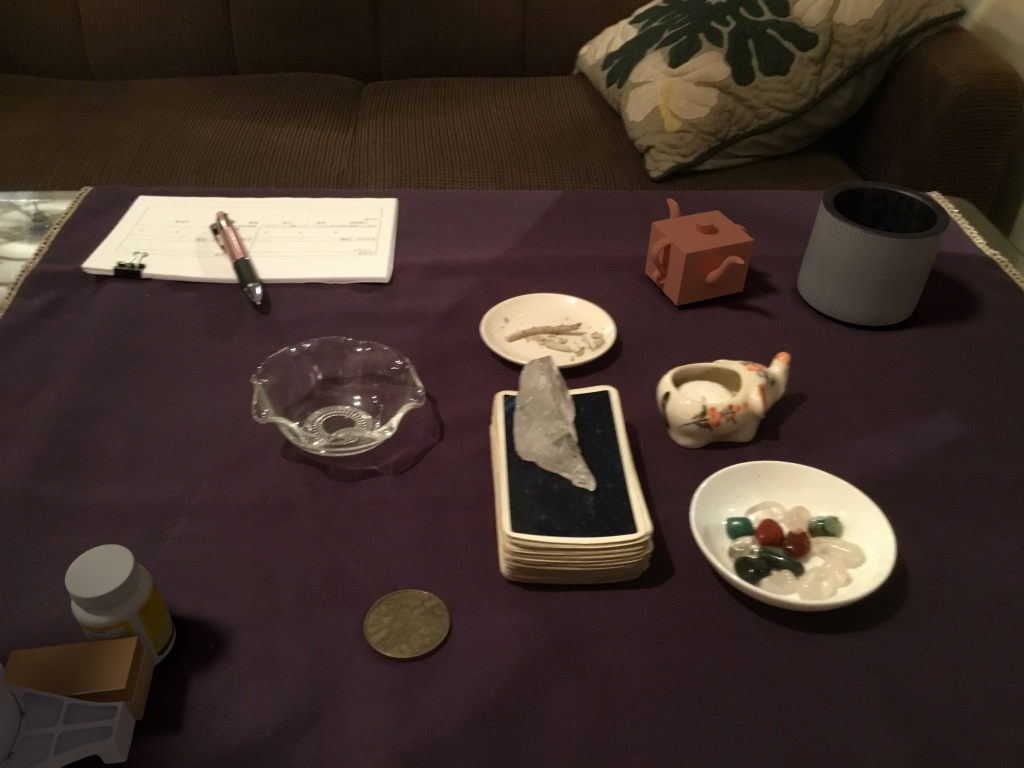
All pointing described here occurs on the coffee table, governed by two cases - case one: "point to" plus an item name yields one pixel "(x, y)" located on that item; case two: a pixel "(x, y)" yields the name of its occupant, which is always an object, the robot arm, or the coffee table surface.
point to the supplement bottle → (119, 600)
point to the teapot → (698, 255)
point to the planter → (871, 252)
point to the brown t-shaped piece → (87, 671)
